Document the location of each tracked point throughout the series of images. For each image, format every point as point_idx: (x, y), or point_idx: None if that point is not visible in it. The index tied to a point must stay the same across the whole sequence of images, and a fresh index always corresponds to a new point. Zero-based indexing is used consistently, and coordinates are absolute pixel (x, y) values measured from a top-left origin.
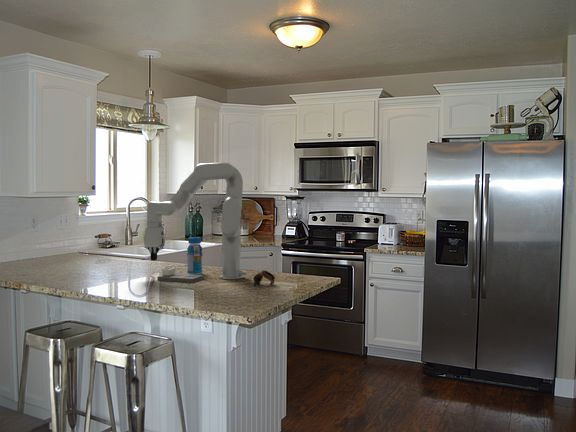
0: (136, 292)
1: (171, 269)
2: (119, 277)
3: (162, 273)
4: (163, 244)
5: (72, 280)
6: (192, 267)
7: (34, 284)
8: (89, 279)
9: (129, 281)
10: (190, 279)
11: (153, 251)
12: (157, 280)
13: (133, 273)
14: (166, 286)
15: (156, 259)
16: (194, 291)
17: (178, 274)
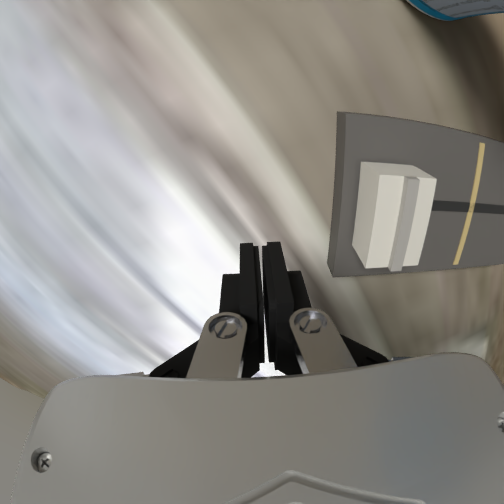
0: None
1: (424, 232)
2: (59, 251)
3: (356, 250)
4: (476, 374)
5: (18, 341)
6: (467, 12)
7: (25, 387)
8: (28, 320)
9: (190, 322)
10: (494, 262)
11: (256, 353)
12: (327, 263)
13: (24, 114)
14: (412, 343)
15: (279, 248)
16: (487, 350)
17: (430, 161)
